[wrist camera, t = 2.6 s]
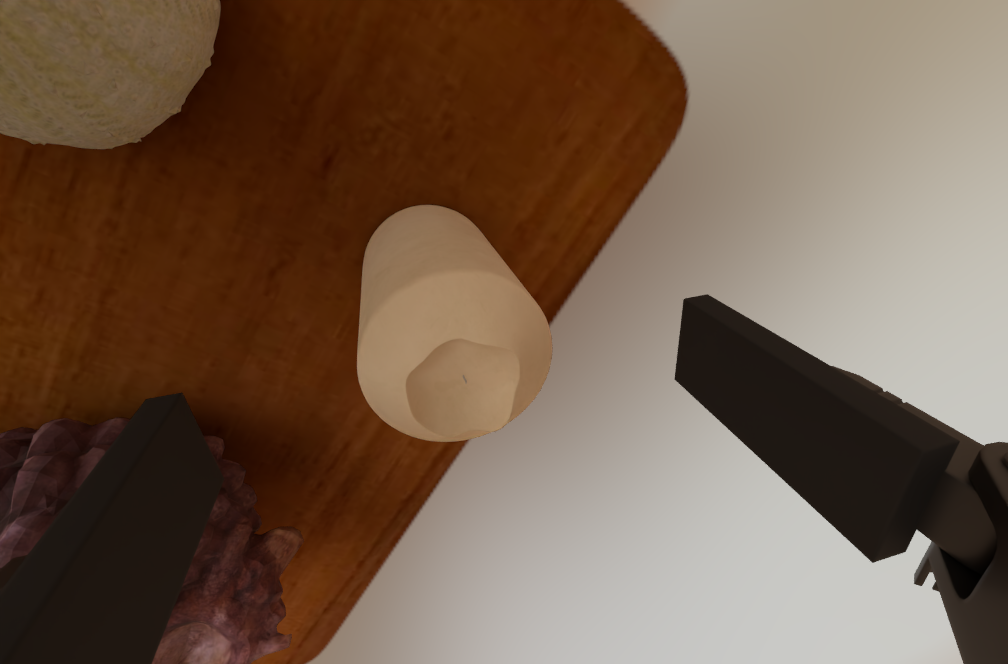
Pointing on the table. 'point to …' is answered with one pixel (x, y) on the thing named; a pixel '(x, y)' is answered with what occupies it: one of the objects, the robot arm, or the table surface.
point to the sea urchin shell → (99, 67)
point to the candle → (446, 329)
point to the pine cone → (215, 566)
